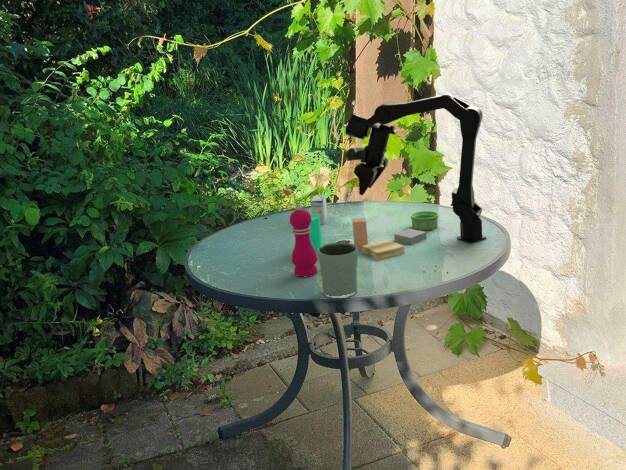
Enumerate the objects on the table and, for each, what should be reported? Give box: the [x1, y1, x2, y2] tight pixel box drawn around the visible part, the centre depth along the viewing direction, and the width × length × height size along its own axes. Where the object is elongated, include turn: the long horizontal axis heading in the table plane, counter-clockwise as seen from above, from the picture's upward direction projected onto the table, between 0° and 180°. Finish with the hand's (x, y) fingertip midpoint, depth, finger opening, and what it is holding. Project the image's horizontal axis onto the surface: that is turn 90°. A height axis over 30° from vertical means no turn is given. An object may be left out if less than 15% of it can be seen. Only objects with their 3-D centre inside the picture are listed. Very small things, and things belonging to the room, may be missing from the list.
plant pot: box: [317, 242, 358, 296], centre depth 172 cm, size 10×10×12 cm
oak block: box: [361, 239, 406, 261], centre depth 200 cm, size 9×9×2 cm
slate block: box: [393, 228, 428, 245], centre depth 210 cm, size 7×7×2 cm
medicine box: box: [310, 194, 328, 225], centre depth 238 cm, size 8×4×9 cm, turn 172°
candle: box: [308, 211, 323, 253], centre depth 208 cm, size 6×6×12 cm
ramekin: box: [410, 210, 439, 231], centre depth 221 cm, size 9×9×4 cm
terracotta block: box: [351, 217, 369, 252], centre depth 205 cm, size 4×4×9 cm
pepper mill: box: [289, 203, 319, 277], centre depth 187 cm, size 7×7×20 cm
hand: (365, 191), depth 212 cm, fingers open, 9 cm apart
